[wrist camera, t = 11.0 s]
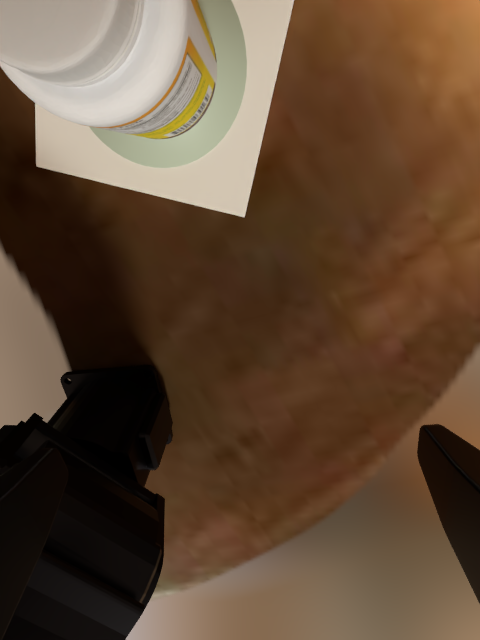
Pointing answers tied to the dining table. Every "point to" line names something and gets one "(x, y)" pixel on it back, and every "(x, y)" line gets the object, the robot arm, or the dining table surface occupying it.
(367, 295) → the dining table surface
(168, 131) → the supplement bottle
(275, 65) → the card
